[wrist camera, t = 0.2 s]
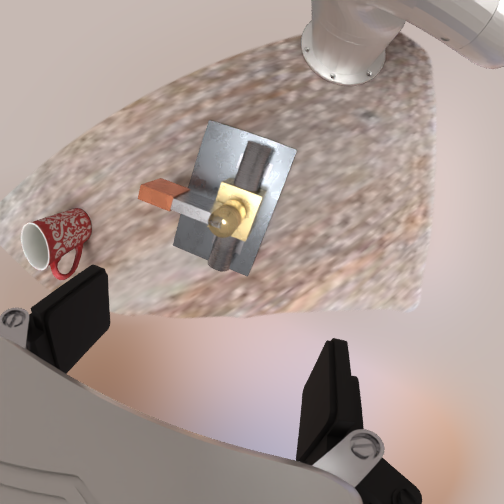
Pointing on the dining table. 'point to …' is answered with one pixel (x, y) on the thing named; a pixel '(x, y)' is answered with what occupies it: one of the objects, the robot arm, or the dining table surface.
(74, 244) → the mug
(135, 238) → the dining table surface
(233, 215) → the lever
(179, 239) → the valve
